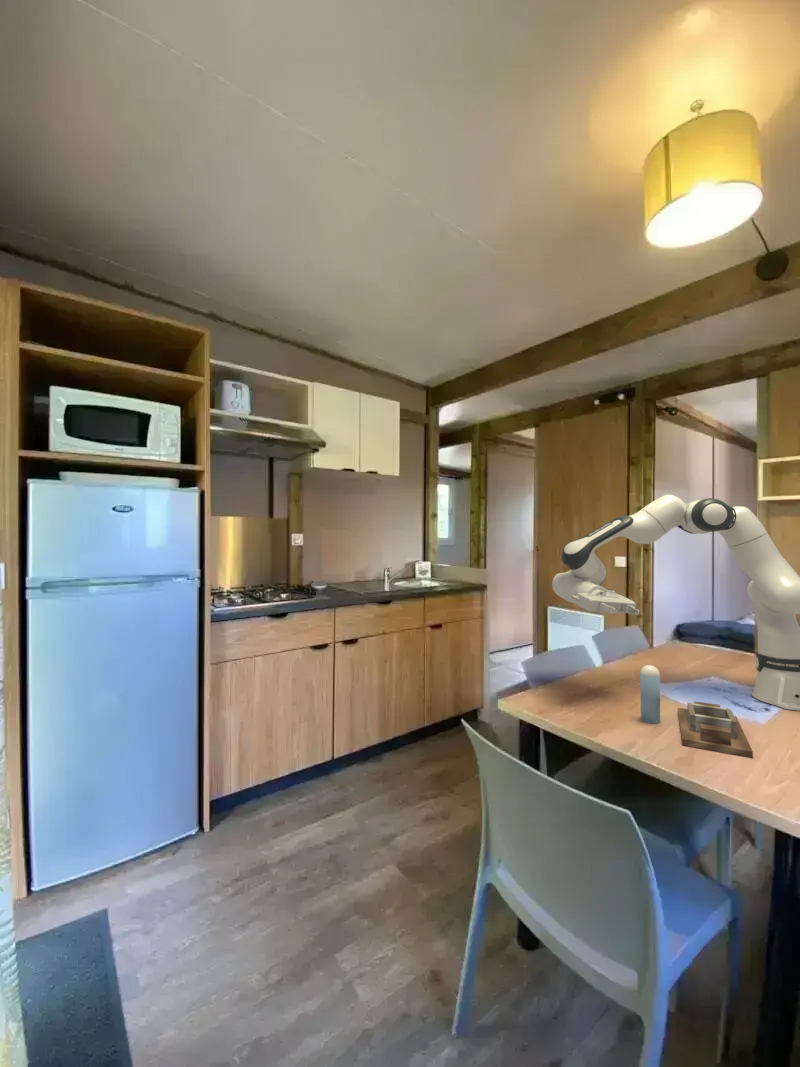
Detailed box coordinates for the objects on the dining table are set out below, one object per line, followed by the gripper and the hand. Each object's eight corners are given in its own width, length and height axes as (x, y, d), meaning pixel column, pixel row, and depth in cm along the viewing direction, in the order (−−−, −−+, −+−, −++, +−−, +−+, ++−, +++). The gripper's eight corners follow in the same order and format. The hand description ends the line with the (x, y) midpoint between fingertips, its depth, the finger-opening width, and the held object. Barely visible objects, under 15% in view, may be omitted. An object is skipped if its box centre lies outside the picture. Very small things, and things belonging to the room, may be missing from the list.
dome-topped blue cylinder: (660, 718, 131) (659, 664, 131) (660, 724, 127) (659, 668, 127) (641, 715, 133) (640, 662, 133) (640, 721, 129) (640, 666, 129)
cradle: (736, 721, 129) (736, 701, 129) (752, 758, 108) (752, 734, 108) (677, 712, 135) (677, 693, 135) (682, 745, 114) (682, 722, 114)
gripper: (570, 585, 147) (604, 600, 134) (615, 590, 155) (651, 604, 143) (565, 604, 148) (598, 620, 135) (611, 608, 156) (646, 623, 144)
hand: (626, 612), depth 139 cm, fingers open, 8 cm apart
